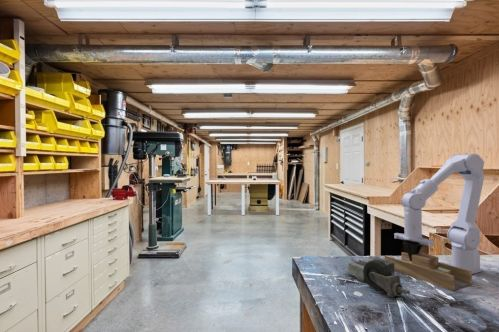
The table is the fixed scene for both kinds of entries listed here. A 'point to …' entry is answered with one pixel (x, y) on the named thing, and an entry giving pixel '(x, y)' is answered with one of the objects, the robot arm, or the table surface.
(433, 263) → the walnut block
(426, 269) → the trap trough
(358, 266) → the stone block
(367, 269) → the caster wheel
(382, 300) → the table surface
